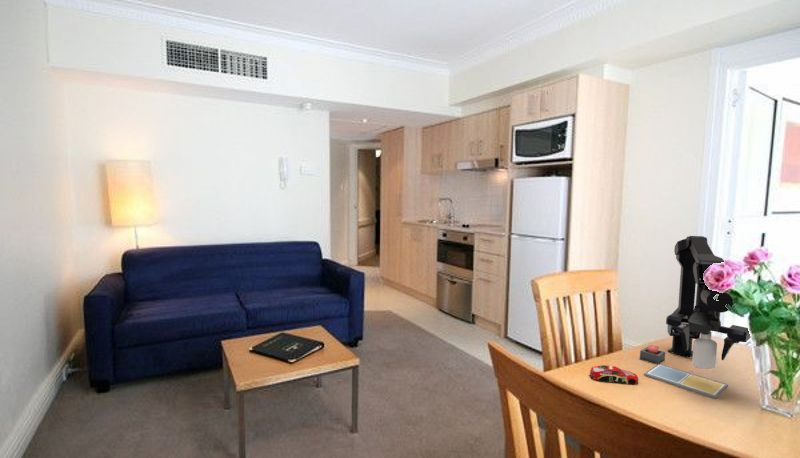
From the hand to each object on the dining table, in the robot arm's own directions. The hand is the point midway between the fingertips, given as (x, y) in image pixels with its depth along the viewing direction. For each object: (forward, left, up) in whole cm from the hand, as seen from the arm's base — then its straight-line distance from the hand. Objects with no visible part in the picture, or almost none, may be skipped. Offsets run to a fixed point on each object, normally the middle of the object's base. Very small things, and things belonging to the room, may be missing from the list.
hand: (704, 354), depth 115 cm
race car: (+16, -18, -10) cm, 26 cm away
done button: (-9, -16, -7) cm, 20 cm away
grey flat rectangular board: (0, -4, -10) cm, 10 cm away
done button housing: (-9, -16, -10) cm, 21 cm away
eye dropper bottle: (0, 0, -4) cm, 4 cm away
